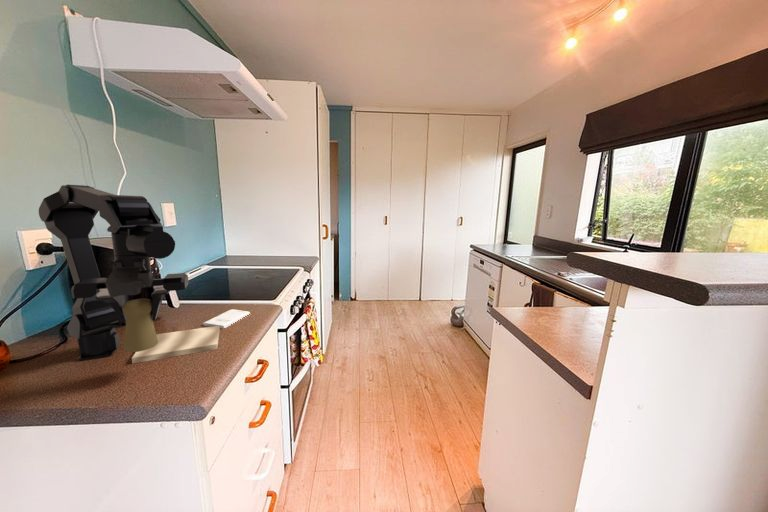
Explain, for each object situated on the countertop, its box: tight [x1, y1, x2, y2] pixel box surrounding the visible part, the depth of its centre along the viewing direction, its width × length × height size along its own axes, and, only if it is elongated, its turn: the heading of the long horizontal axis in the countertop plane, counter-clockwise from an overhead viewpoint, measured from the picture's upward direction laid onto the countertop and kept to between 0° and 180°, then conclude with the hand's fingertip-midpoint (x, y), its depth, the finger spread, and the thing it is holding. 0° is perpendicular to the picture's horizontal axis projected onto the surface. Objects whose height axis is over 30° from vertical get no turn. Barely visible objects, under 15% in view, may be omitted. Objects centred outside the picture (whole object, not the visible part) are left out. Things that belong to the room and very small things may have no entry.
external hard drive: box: [202, 308, 251, 330], centre depth 96 cm, size 2×8×12 cm
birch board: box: [131, 326, 221, 364], centre depth 78 cm, size 18×13×2 cm
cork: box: [122, 298, 158, 353], centre depth 63 cm, size 6×6×11 cm
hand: (140, 320), depth 63 cm, fingers closed on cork, 5 cm apart
